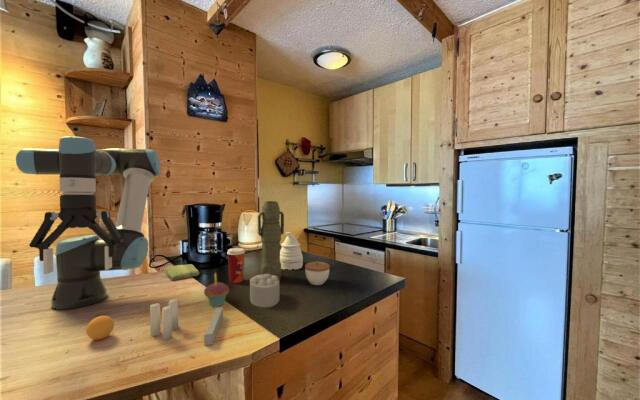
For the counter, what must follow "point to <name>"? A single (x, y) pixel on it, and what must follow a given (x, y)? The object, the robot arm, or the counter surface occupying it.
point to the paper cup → (236, 264)
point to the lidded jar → (317, 272)
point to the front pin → (155, 319)
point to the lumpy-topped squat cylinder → (264, 290)
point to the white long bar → (213, 326)
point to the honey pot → (291, 253)
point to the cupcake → (216, 292)
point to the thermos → (271, 237)
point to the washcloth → (181, 272)
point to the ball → (100, 327)
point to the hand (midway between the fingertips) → (79, 270)
